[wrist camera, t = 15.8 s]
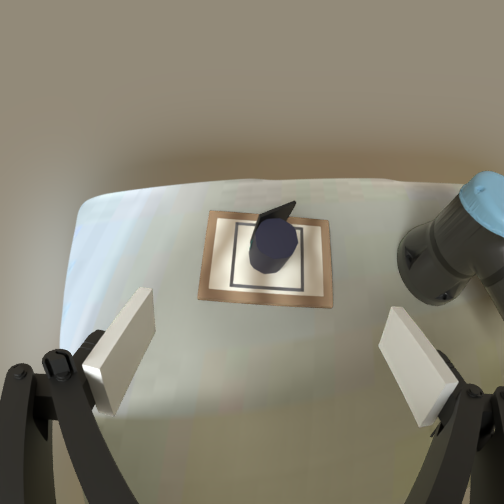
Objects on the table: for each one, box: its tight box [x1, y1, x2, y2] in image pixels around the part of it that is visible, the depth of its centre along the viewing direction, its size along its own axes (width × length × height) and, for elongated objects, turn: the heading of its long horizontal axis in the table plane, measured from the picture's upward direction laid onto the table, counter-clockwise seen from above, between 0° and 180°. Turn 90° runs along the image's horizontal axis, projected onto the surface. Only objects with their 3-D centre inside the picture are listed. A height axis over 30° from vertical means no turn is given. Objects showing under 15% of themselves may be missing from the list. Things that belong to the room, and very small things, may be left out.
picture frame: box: [197, 211, 333, 308], centre depth 47 cm, size 20×15×1 cm
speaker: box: [249, 201, 298, 274], centre depth 42 cm, size 8×6×10 cm
